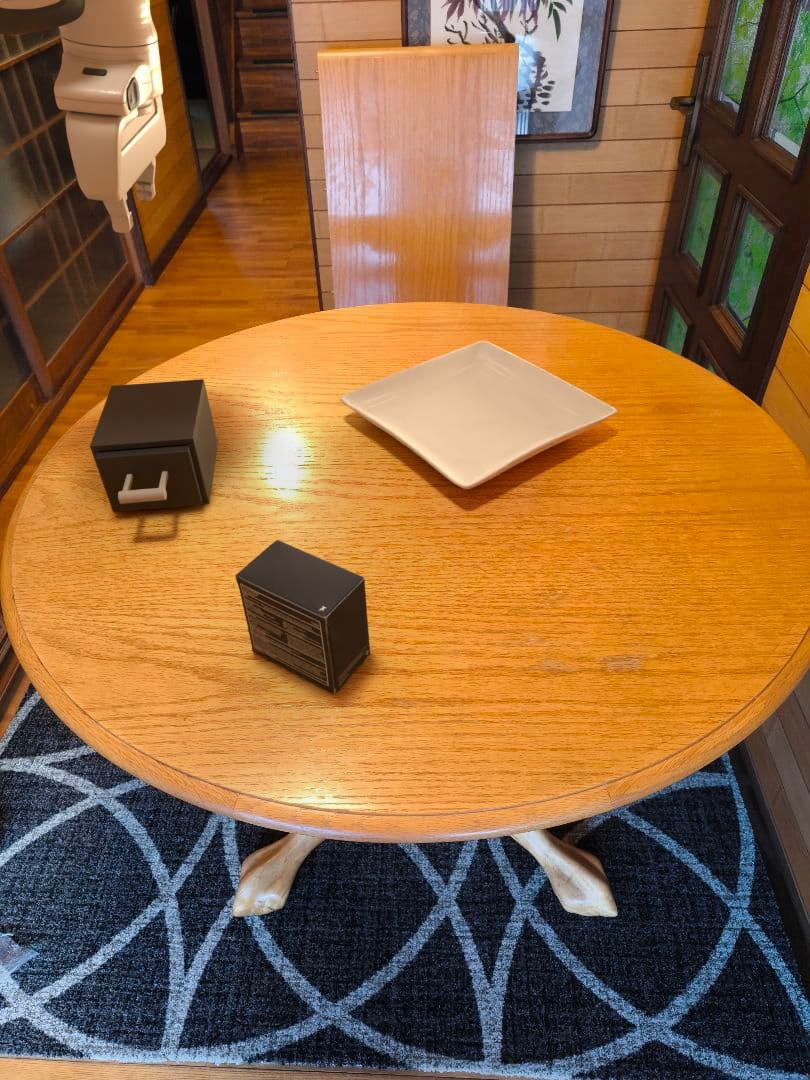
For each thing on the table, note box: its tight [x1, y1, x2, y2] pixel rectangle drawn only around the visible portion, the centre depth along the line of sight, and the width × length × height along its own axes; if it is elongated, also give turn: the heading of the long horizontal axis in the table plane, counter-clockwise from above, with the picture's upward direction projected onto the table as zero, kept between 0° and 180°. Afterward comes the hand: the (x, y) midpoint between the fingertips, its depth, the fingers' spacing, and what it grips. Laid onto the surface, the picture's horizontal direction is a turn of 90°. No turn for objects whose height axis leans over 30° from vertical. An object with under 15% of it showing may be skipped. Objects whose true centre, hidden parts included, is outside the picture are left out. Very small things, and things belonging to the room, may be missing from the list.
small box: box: [235, 539, 371, 695], centre depth 72 cm, size 11×6×10 cm, turn 58°
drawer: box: [95, 444, 203, 513], centre depth 92 cm, size 17×10×8 cm, turn 6°
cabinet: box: [89, 378, 218, 512], centre depth 95 cm, size 14×12×10 cm
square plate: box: [339, 340, 618, 490], centre depth 104 cm, size 27×27×4 cm
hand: (135, 214), depth 85 cm, fingers open, 8 cm apart
